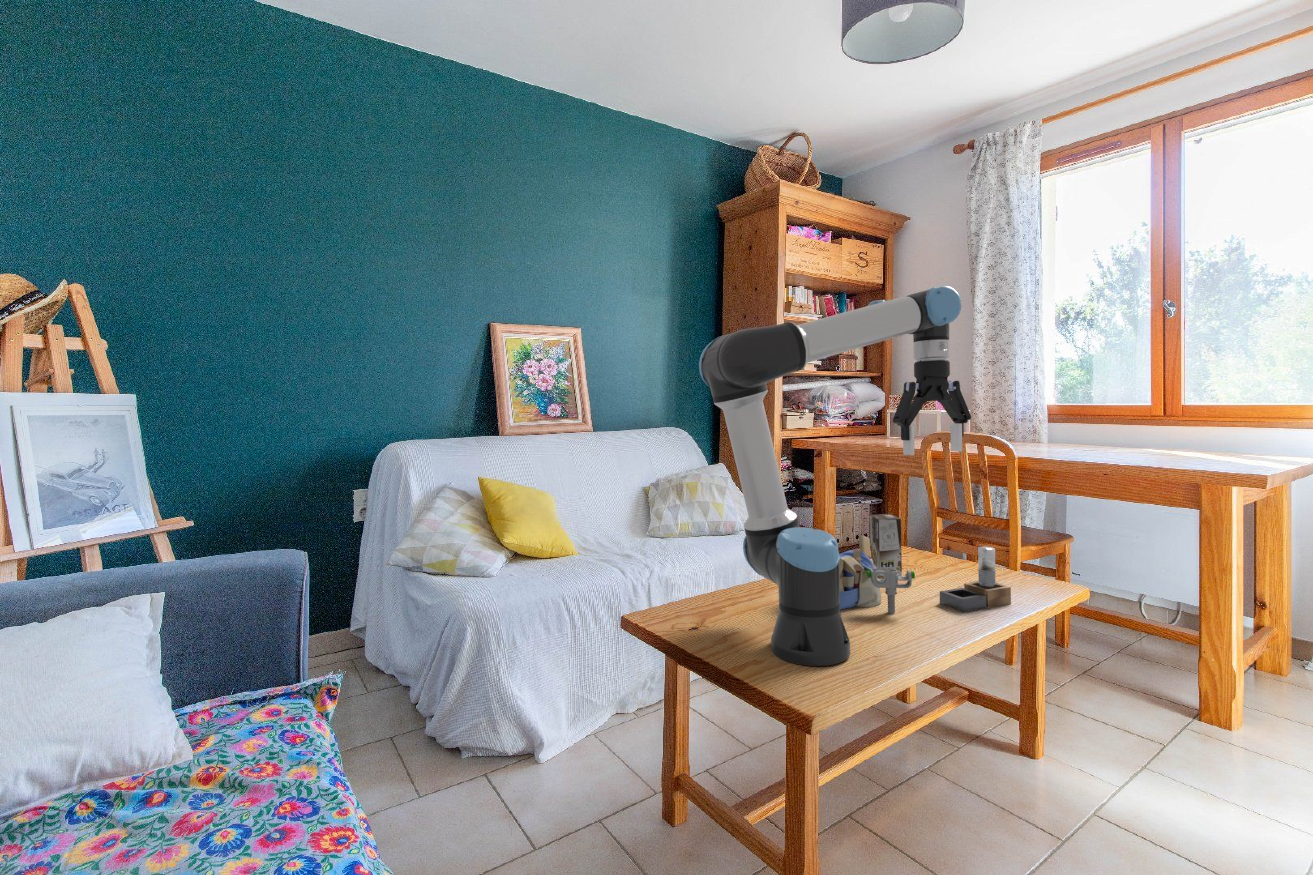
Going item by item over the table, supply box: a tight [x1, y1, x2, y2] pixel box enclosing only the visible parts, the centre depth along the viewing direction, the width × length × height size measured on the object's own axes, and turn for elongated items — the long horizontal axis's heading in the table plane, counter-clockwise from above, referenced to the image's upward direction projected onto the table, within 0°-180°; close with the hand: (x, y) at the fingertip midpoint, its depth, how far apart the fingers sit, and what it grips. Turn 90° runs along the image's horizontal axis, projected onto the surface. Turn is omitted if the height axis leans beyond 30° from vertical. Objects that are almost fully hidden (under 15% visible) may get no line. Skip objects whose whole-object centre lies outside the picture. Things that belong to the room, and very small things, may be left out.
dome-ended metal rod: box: [977, 546, 997, 589], centre depth 151 cm, size 4×4×13 cm
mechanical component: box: [867, 569, 916, 615], centre depth 146 cm, size 3×10×10 cm, turn 78°
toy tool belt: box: [839, 534, 882, 616], centre depth 152 cm, size 26×16×16 cm, turn 122°
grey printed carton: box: [869, 513, 903, 577], centre depth 180 cm, size 9×6×16 cm
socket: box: [939, 587, 987, 613], centre depth 149 cm, size 7×7×3 cm
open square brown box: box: [963, 580, 1012, 609], centre depth 151 cm, size 7×7×4 cm
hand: (933, 453), depth 145 cm, fingers open, 13 cm apart
